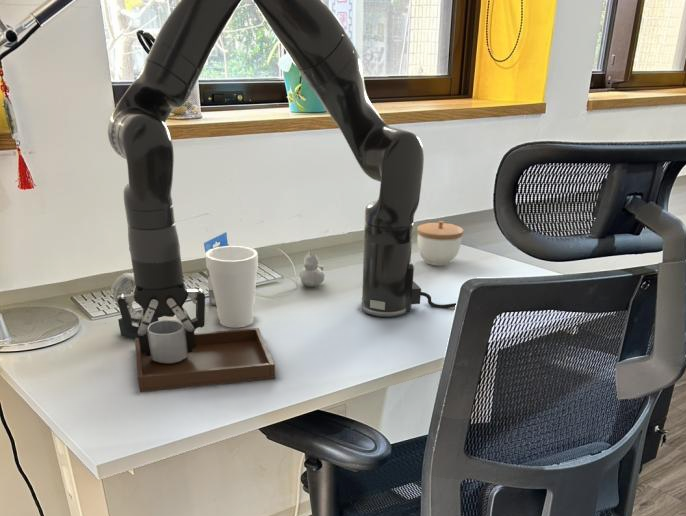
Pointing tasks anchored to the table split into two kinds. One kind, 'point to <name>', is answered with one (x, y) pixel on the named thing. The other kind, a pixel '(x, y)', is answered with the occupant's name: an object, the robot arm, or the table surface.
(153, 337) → the grey cup
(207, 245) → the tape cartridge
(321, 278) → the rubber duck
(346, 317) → the table surface
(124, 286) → the ring sculpture on stand
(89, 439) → the table surface
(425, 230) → the trinket box
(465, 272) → the table surface
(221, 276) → the foam cup
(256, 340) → the tray
